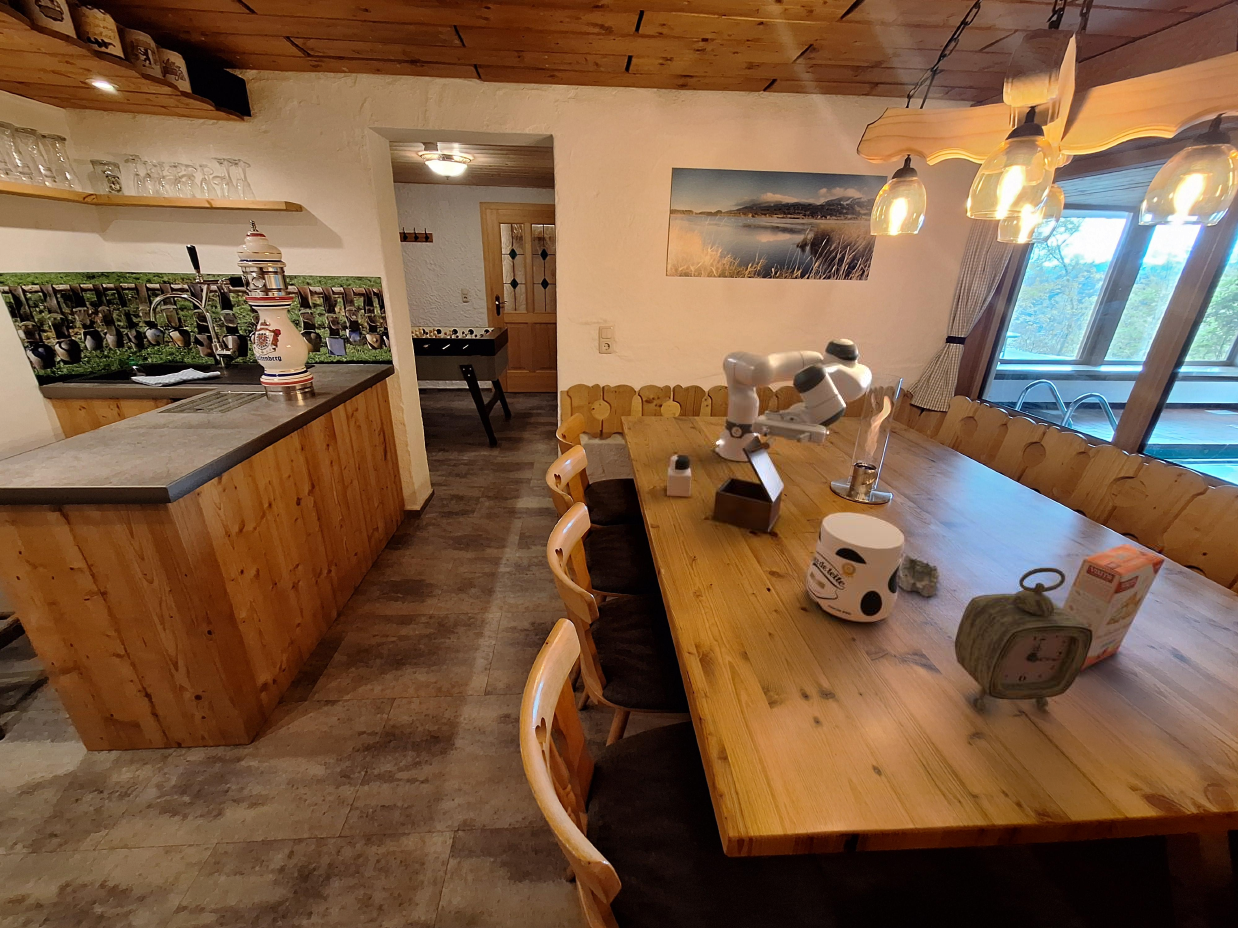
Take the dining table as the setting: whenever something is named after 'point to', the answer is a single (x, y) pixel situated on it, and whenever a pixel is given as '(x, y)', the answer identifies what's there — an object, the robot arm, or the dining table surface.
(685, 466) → the medicine bottle
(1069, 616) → the tabletop clock
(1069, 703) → the dining table surface
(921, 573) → the egg carton
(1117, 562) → the cracker box
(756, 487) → the chest
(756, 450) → the chest lid
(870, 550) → the milk container
